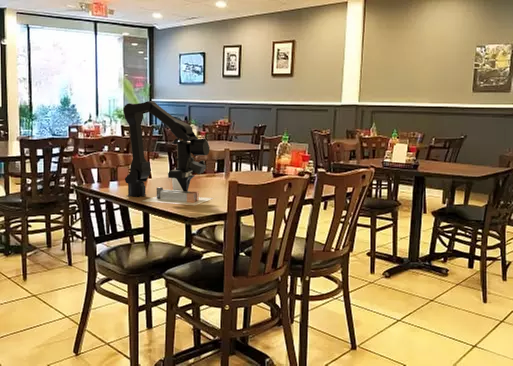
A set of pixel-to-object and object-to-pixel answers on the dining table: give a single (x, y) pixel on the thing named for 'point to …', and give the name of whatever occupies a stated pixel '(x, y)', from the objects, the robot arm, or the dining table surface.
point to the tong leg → (176, 191)
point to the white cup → (176, 185)
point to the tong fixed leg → (178, 196)
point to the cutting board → (177, 201)
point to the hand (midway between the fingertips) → (185, 192)
